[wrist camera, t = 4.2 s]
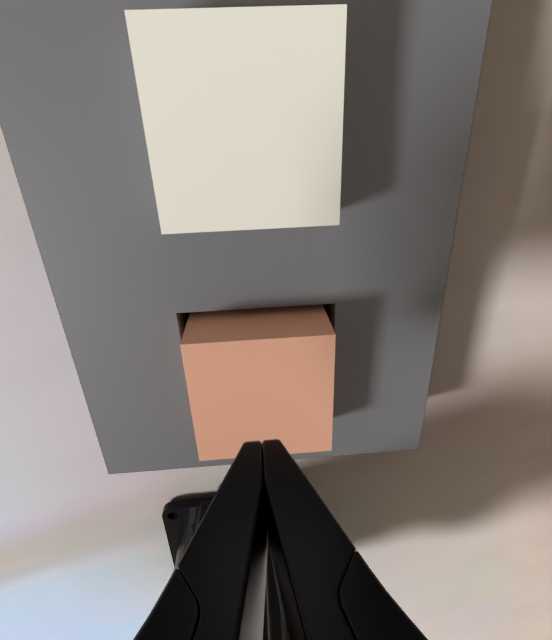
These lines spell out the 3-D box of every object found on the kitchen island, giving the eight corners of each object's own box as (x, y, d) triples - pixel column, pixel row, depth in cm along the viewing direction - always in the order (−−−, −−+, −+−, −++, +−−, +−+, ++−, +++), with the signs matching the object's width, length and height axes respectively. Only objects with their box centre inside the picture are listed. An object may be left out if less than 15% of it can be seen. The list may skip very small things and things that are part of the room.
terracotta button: (319, 403, 15) (331, 450, 13) (206, 411, 15) (199, 461, 13) (320, 300, 13) (335, 334, 11) (191, 308, 13) (180, 344, 11)
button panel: (396, 408, 18) (418, 449, 15) (126, 428, 17) (108, 474, 15) (515, -546, 7) (630, -837, 5) (-137, -571, 7) (-322, -910, 5)
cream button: (321, 207, 12) (339, 225, 10) (177, 214, 12) (161, 234, 9) (324, 32, 10) (347, 3, 8) (151, 37, 10) (124, 9, 8)
